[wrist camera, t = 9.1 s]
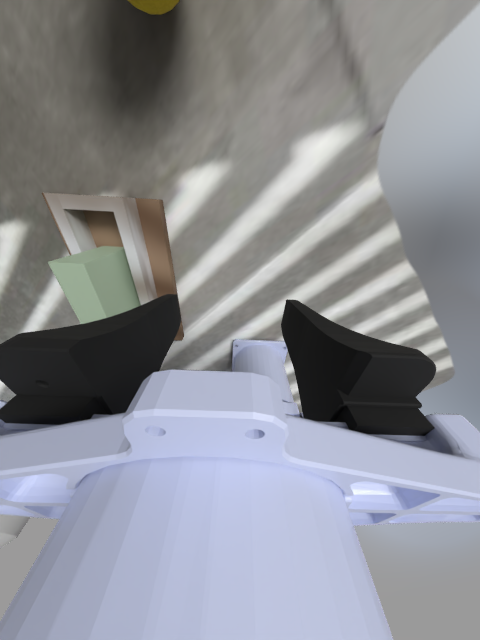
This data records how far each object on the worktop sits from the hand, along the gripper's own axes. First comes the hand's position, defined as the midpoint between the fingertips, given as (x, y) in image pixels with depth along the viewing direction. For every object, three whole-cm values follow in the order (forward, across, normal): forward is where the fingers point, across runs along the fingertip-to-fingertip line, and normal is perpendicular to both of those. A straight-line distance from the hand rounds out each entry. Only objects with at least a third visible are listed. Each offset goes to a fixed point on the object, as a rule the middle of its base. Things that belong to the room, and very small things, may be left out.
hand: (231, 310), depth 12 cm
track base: (+9, +12, +2) cm, 15 cm away
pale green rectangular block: (+8, +12, +2) cm, 15 cm away
